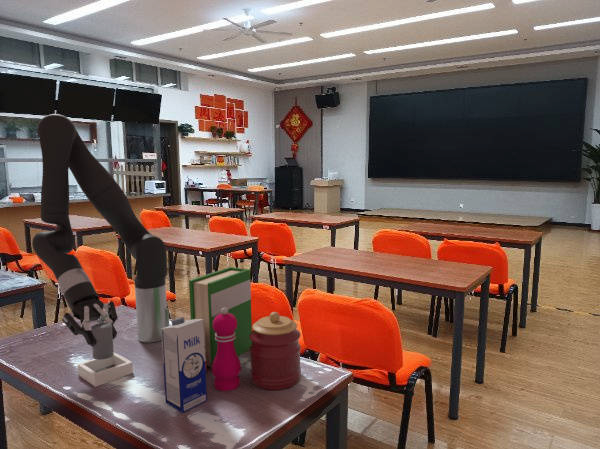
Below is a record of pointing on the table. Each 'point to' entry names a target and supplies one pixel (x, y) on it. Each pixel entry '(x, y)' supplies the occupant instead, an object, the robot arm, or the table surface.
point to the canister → (275, 353)
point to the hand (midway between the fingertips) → (104, 341)
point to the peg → (102, 341)
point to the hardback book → (223, 306)
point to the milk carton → (184, 363)
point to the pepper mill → (225, 352)
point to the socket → (96, 379)
